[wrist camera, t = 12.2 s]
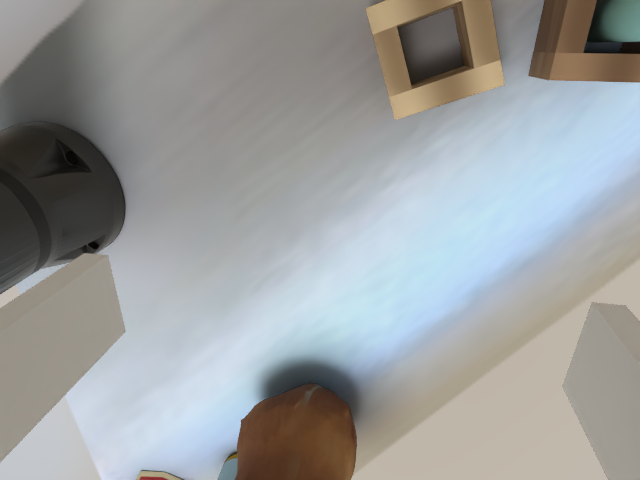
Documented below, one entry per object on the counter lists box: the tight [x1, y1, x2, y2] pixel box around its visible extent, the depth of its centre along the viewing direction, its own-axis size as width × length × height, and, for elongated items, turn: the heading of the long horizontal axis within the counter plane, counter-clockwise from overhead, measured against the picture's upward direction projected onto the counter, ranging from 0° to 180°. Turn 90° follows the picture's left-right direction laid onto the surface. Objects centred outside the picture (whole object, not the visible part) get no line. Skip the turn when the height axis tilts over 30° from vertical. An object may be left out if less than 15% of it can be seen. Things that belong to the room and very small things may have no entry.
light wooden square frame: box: [366, 0, 505, 120], centre depth 31 cm, size 8×8×5 cm
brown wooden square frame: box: [529, 0, 640, 82], centre depth 29 cm, size 8×8×5 cm
